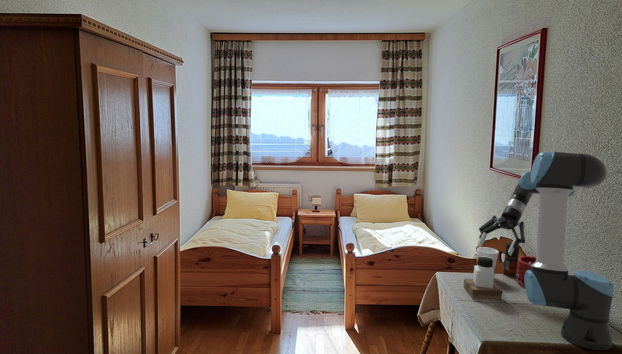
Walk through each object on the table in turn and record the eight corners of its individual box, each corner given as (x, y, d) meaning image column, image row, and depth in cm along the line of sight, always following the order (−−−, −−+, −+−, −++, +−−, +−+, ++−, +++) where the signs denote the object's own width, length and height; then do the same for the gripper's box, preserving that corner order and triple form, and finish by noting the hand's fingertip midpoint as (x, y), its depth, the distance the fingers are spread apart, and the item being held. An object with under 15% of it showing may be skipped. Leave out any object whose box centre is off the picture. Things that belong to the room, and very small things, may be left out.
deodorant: (501, 274, 215) (504, 244, 213) (504, 271, 220) (507, 242, 218) (514, 277, 212) (518, 247, 210) (517, 274, 217) (520, 244, 214)
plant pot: (513, 287, 200) (516, 261, 199) (517, 278, 212) (520, 253, 210) (546, 294, 194) (549, 267, 192) (548, 284, 205) (551, 259, 203)
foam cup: (473, 272, 217) (475, 246, 215) (493, 274, 216) (496, 248, 214) (476, 279, 208) (479, 252, 206) (497, 281, 206) (500, 254, 204)
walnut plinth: (501, 300, 185) (502, 291, 185) (472, 298, 186) (473, 289, 185) (490, 288, 197) (491, 280, 197) (463, 287, 197) (464, 278, 197)
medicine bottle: (493, 288, 187) (496, 261, 185) (475, 286, 188) (478, 259, 186) (490, 282, 194) (492, 256, 192) (472, 280, 195) (475, 254, 193)
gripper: (544, 222, 194) (525, 262, 187) (489, 211, 213) (470, 247, 205) (540, 212, 190) (520, 252, 182) (484, 201, 208) (465, 237, 201)
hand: (493, 249), depth 194 cm, fingers open, 13 cm apart
